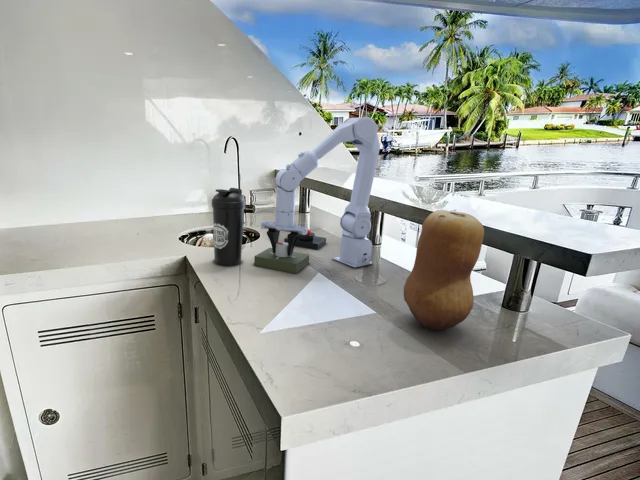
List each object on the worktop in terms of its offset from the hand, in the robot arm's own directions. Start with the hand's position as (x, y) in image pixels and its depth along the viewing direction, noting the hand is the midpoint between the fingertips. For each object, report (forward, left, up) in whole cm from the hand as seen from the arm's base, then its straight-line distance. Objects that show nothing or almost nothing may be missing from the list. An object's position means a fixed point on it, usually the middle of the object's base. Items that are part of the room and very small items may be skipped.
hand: (282, 253), depth 119 cm
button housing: (+15, -22, -3) cm, 27 cm away
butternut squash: (-48, -5, -4) cm, 48 cm away
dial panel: (0, 0, -3) cm, 3 cm away
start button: (+15, -22, 0) cm, 27 cm away
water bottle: (+10, +14, -4) cm, 18 cm away
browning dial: (0, 0, 0) cm, 0 cm away
